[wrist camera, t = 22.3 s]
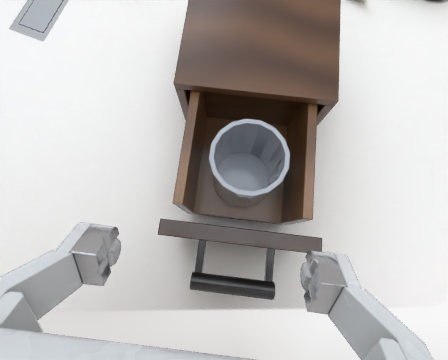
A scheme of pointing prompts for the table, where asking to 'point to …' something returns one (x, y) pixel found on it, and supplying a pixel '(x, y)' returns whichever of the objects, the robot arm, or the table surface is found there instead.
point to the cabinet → (261, 51)
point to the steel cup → (248, 161)
